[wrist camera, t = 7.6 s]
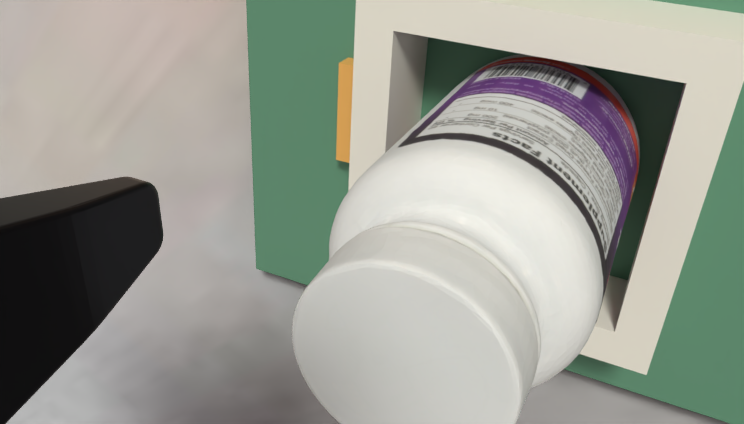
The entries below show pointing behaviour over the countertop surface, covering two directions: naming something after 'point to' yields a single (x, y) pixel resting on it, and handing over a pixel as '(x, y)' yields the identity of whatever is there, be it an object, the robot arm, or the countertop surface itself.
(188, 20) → the countertop surface
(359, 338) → the pill bottle
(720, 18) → the board
